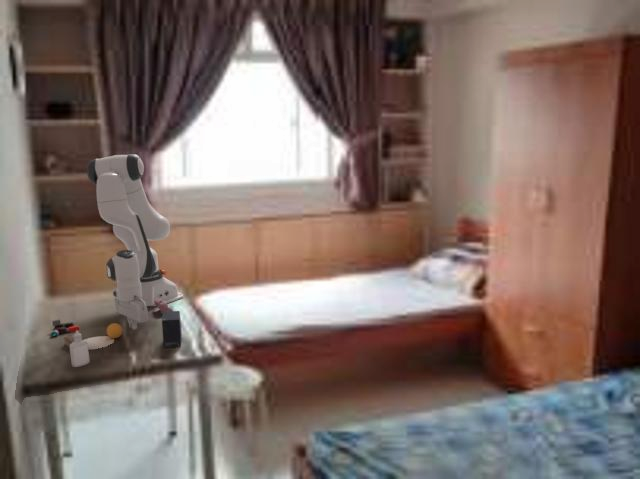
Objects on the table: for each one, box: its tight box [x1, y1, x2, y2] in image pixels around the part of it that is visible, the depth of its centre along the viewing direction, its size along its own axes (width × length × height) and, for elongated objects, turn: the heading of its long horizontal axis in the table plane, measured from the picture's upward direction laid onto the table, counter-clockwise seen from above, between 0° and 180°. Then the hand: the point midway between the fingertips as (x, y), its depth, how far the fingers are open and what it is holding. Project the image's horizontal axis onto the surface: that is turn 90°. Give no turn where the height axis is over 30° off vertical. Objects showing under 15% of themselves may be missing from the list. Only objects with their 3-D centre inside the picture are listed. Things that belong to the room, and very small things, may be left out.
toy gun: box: [50, 319, 80, 338], centre depth 244 cm, size 10×12×5 cm
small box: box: [161, 310, 182, 349], centre depth 228 cm, size 11×6×10 cm, turn 12°
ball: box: [106, 322, 123, 339], centre depth 235 cm, size 6×6×6 cm
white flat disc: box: [83, 335, 115, 351], centre depth 231 cm, size 13×13×1 cm
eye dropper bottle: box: [69, 330, 90, 368], centre depth 210 cm, size 4×6×12 cm
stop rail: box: [63, 334, 74, 348], centre depth 226 cm, size 2×14×3 cm, turn 42°
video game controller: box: [154, 299, 174, 314], centre depth 263 cm, size 10×5×7 cm, turn 28°
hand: (133, 328), depth 240 cm, fingers closed
